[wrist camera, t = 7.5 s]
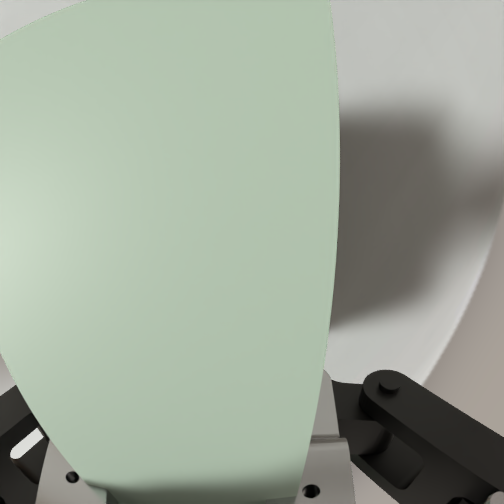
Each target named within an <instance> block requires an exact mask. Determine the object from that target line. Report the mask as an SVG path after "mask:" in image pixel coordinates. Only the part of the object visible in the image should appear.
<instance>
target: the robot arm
mask: <svg viewBox="0 0 504 504" xmlns="http://www.w3.org/2000/svg"><path fill="white" fill-rule="evenodd" d="M36 428H38V429H39V431H40V432H41V434H42V435H43V436H44V437H43V438H42V439H41V440H40V441H39V442H38V443H37V444H35V445H34V446H33V447H32V448H31V449H30V450H29V451H27V452H26V453H25V454H24V455H23V456H22V457H20V458H18V459H13V458H11V457H10V452H11V450H12V448H13V447H14V446H16V445H17V444H18V443H19V442H20V441H21V440H23V439H24V438H25V437H26V436H27V435H29V434H30V433H31V432H32V431H33V430H35V429H36ZM351 461H352V462H353V463H354V464H355V465H356V466H357V467H358V468H359V469H360V470H361V471H362V472H364V473H365V474H366V475H367V476H368V477H369V478H370V479H372V480H373V481H374V482H375V483H376V484H377V485H378V486H379V487H381V488H382V489H383V490H384V491H386V493H388V494H389V495H390V496H391V497H392V498H393V499H395V500H396V501H397V502H398V503H399V504H504V437H502V436H500V435H499V434H497V433H496V432H494V431H493V430H491V429H489V428H487V427H486V426H484V425H483V424H481V423H480V422H478V421H476V420H475V419H473V418H471V417H470V416H468V415H467V414H465V413H463V412H462V411H460V410H459V409H457V408H455V407H454V406H452V405H451V404H449V403H448V402H446V401H444V400H443V399H441V398H440V397H438V396H436V395H435V394H433V393H432V392H430V391H429V390H427V389H426V388H424V387H422V386H421V385H419V384H418V383H416V382H415V381H413V380H411V379H410V378H408V377H407V376H405V375H404V374H402V373H399V372H397V371H393V370H379V371H375V372H373V373H371V374H369V375H368V376H367V377H366V378H365V380H364V382H363V384H351V383H341V382H337V381H334V380H331V377H330V376H329V374H328V373H327V372H326V371H325V370H324V369H323V375H322V382H321V388H320V393H319V399H318V404H317V410H316V415H315V420H314V425H313V430H312V435H311V440H310V444H309V449H308V453H307V457H306V462H305V466H304V470H303V474H302V478H301V482H300V486H299V490H298V493H297V496H293V497H285V498H276V499H266V504H356V502H355V493H354V484H353V475H352V468H351ZM0 504H118V501H117V499H116V498H115V497H114V496H113V495H112V494H111V493H110V492H109V491H108V490H107V489H106V488H102V487H98V486H94V485H90V484H86V483H85V482H84V481H83V479H82V478H81V477H80V476H79V475H78V474H77V473H76V471H75V470H74V469H73V468H72V467H71V465H70V464H69V463H68V462H67V461H66V459H65V458H64V457H63V455H62V454H61V453H60V452H59V450H58V449H57V448H56V446H55V445H54V444H53V442H52V441H51V439H50V438H49V437H48V435H47V434H46V432H45V431H44V429H43V428H42V427H41V425H40V424H39V422H38V420H37V419H36V417H35V416H34V414H33V413H32V411H31V409H30V408H29V406H28V404H27V403H26V401H25V399H24V398H23V396H22V394H21V392H20V391H19V389H18V387H17V385H15V386H14V387H12V388H11V389H10V390H8V391H7V392H5V393H4V394H3V395H1V396H0Z"/></svg>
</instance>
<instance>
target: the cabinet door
mask: <svg viewBox="0 0 504 504" xmlns="http://www.w3.org/2000/svg"><path fill="white" fill-rule="evenodd" d="M339 189H340V124H339V96H338V78H337V63H336V51H335V40H334V30H333V21H332V13H331V5H330V0H86V1H83V2H80V3H77V4H74V5H72V6H69V7H66V8H64V9H61V10H59V11H56V12H54V13H52V14H49V15H47V16H45V17H43V18H40V19H38V20H36V21H34V22H32V23H30V24H28V25H26V26H24V27H22V28H20V29H18V30H16V31H14V32H13V33H11V34H9V35H7V36H5V37H4V38H2V39H0V353H1V355H2V357H3V359H4V361H5V364H6V366H7V368H8V370H9V372H10V374H11V375H12V378H13V380H14V381H15V383H16V385H17V387H18V389H19V391H20V392H21V394H22V396H23V398H24V399H25V401H26V403H27V404H28V406H29V408H30V409H31V411H32V413H33V414H34V416H35V417H36V419H37V420H38V422H39V424H40V425H41V427H42V428H43V429H44V431H45V432H46V434H47V435H48V437H49V438H50V439H51V441H52V442H53V444H54V445H55V446H56V448H57V449H58V450H59V452H60V453H61V454H62V455H63V457H64V458H65V459H66V461H67V462H68V463H69V464H70V465H71V467H72V468H73V469H74V470H75V471H76V473H77V474H78V475H79V476H80V477H81V478H82V479H83V481H84V482H85V483H86V484H90V485H94V486H98V487H102V488H106V489H107V490H108V491H109V492H110V493H111V494H112V495H113V496H114V497H115V498H116V499H117V501H118V504H266V499H276V498H285V497H293V496H297V493H298V490H299V486H300V482H301V478H302V474H303V470H304V466H305V462H306V457H307V453H308V449H309V444H310V440H311V435H312V430H313V425H314V420H315V415H316V410H317V404H318V399H319V393H320V388H321V382H322V375H323V369H324V362H325V356H326V349H327V341H328V334H329V326H330V317H331V308H332V299H333V289H334V278H335V266H336V253H337V237H338V218H339Z"/></svg>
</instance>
